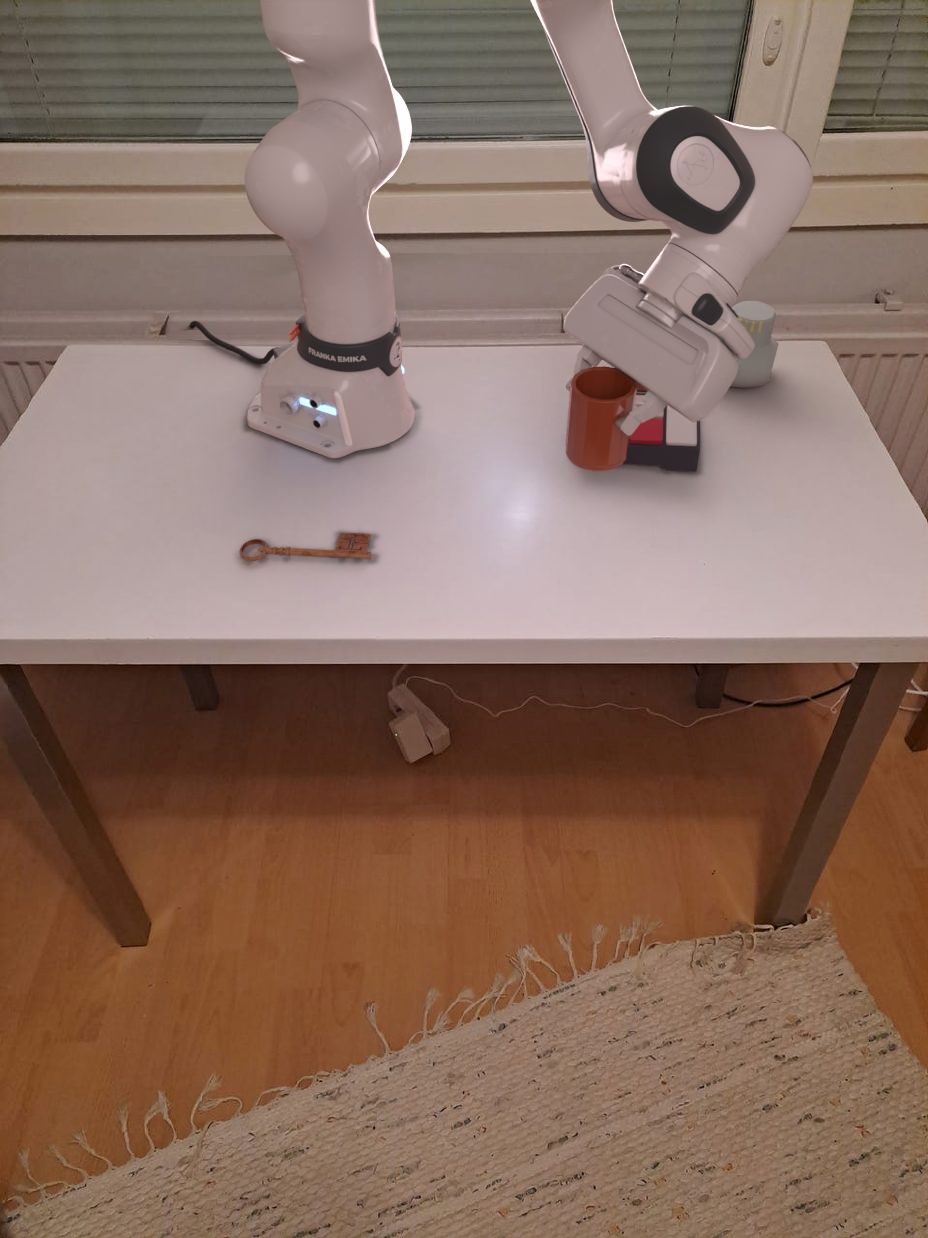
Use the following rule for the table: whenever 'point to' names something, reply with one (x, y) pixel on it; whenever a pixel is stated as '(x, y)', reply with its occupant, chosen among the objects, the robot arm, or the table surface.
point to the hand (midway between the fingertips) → (596, 411)
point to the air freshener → (756, 344)
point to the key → (341, 552)
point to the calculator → (665, 441)
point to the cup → (598, 417)
